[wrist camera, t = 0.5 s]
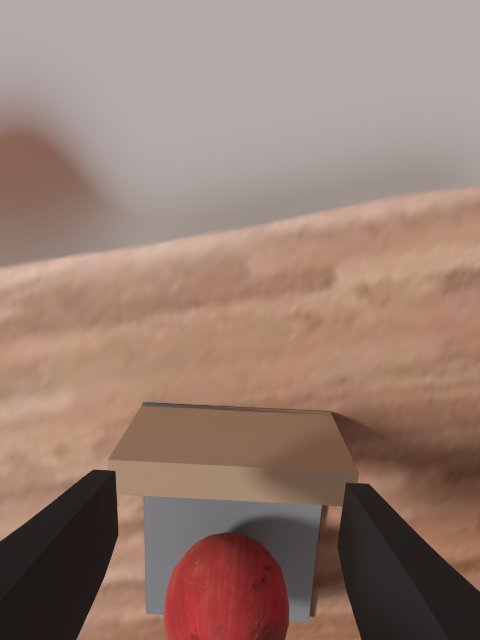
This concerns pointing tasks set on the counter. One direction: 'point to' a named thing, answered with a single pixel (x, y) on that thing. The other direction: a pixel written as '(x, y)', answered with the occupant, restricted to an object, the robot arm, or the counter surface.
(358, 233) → the counter surface
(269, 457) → the l-shaped bracket
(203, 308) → the counter surface
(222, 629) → the onion
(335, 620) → the counter surface
